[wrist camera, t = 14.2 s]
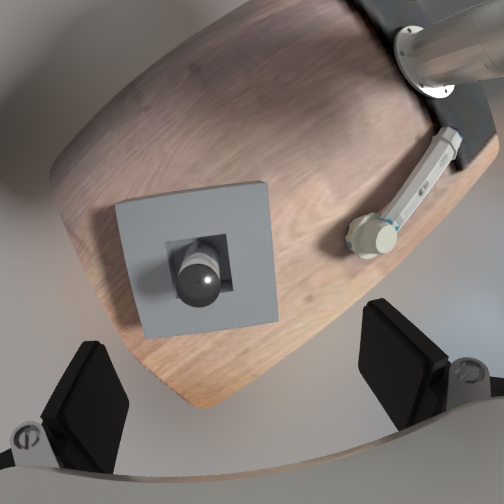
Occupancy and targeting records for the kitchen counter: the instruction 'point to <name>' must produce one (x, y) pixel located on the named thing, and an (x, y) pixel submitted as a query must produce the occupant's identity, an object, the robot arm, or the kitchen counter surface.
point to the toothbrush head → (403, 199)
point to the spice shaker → (199, 275)
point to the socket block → (192, 230)
